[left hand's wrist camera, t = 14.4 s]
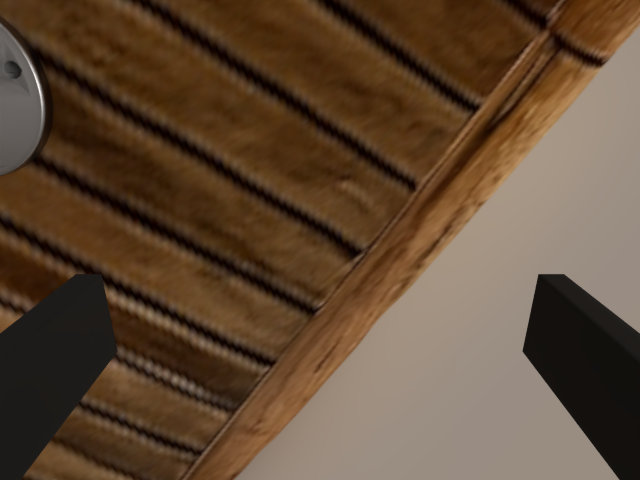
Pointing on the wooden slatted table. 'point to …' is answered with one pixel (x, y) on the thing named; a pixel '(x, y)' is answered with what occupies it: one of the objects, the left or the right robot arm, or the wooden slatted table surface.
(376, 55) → the wooden slatted table surface
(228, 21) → the wooden slatted table surface
